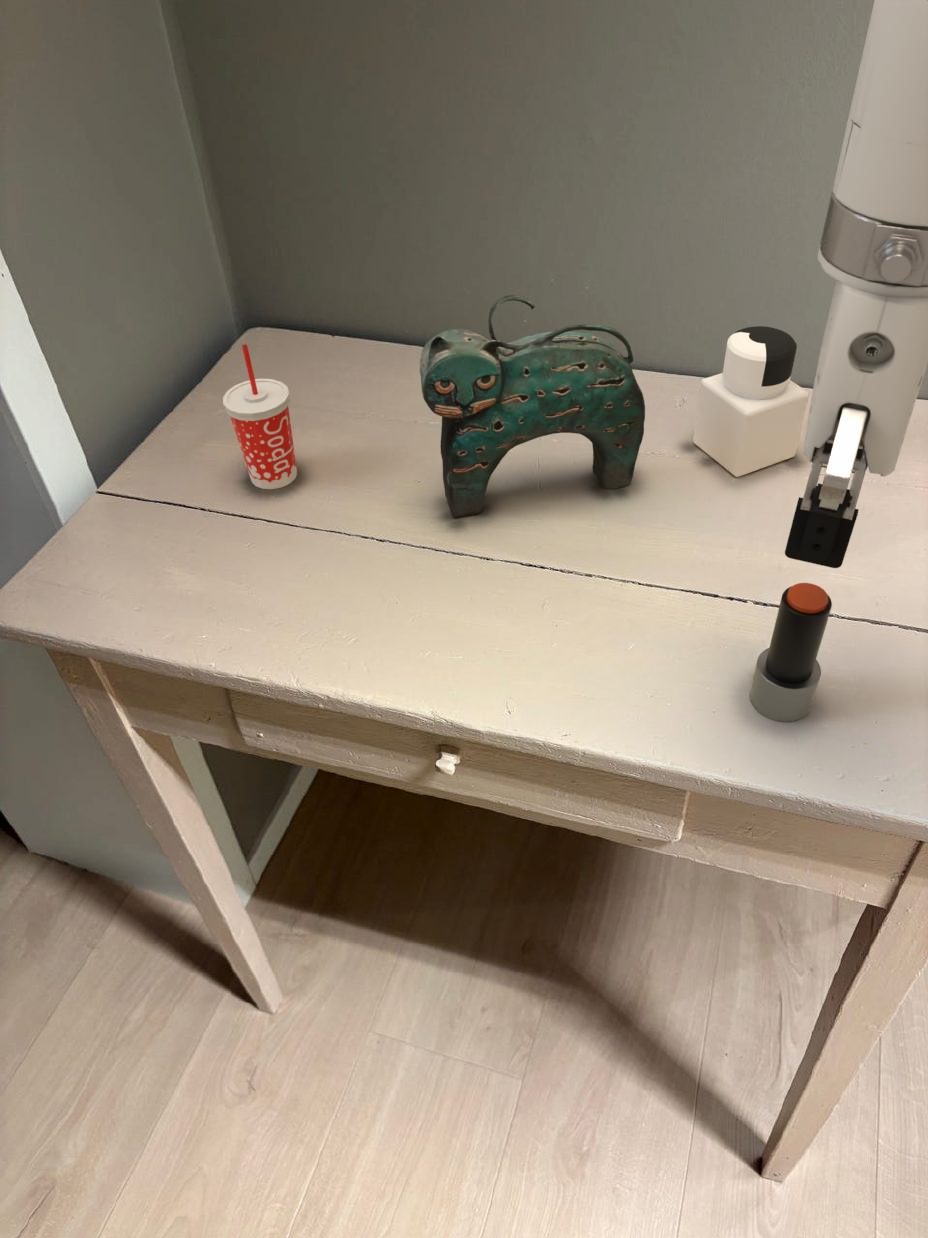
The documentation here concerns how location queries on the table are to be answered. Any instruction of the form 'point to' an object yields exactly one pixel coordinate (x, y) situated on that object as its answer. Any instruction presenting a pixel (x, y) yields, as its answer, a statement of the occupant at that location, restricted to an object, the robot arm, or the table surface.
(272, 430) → the beverage cup
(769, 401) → the medicine bottle
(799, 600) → the torch
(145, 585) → the table surface
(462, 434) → the ceramic cat
